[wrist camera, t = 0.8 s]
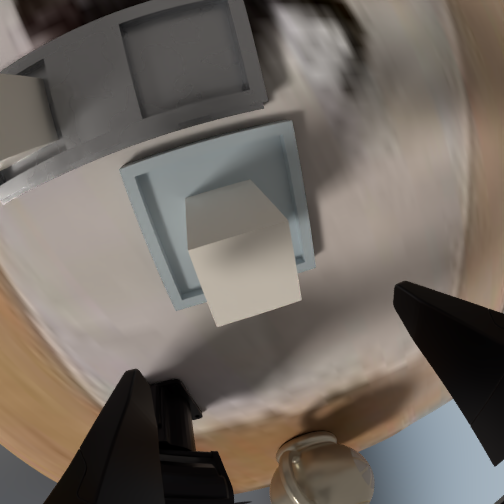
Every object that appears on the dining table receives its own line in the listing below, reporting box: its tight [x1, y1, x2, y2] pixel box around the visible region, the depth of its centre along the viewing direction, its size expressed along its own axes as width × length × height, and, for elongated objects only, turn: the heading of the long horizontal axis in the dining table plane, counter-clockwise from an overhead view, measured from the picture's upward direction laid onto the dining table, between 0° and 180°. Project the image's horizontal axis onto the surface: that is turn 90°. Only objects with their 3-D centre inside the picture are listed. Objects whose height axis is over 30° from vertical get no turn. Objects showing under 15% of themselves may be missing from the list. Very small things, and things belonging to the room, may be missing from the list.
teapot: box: [270, 431, 374, 504], centre depth 28 cm, size 18×14×16 cm
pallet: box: [0, 0, 268, 205], centre depth 13 cm, size 8×17×2 cm, turn 103°
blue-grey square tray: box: [119, 120, 316, 311], centre depth 19 cm, size 10×10×1 cm
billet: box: [185, 179, 302, 327], centre depth 16 cm, size 4×4×7 cm
